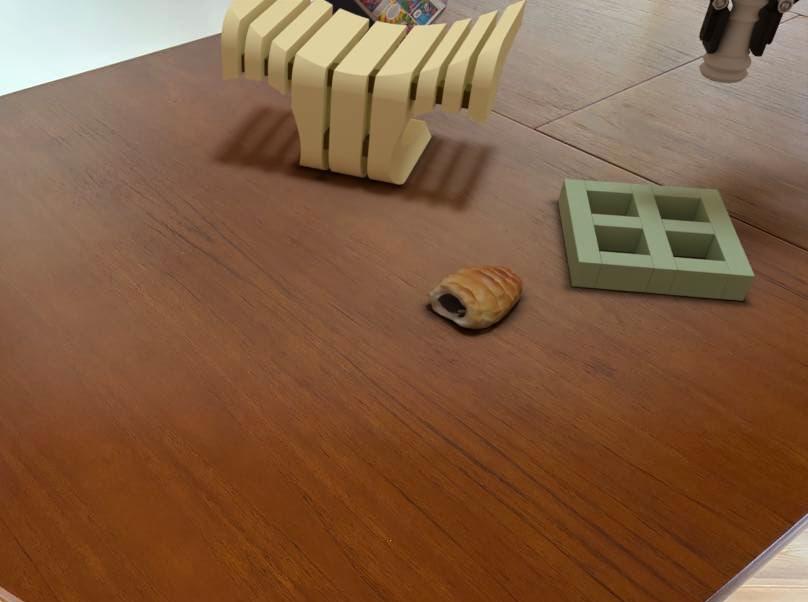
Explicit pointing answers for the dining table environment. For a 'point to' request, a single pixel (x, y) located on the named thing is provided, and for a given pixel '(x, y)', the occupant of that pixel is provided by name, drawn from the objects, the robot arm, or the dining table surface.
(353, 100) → the slatted curved stool
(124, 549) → the dining table surface
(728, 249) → the window frame
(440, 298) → the pastry
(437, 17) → the colorful printed box
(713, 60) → the rook chess piece
